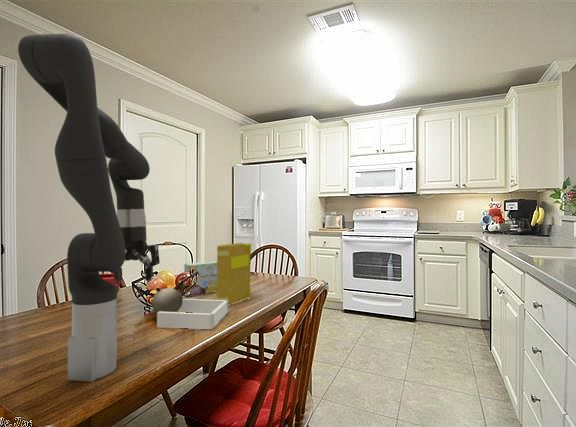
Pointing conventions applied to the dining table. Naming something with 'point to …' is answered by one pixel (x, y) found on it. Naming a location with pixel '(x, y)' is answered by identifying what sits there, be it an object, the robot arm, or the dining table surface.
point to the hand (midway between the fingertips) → (134, 280)
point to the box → (194, 314)
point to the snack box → (203, 277)
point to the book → (233, 272)
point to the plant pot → (111, 280)
